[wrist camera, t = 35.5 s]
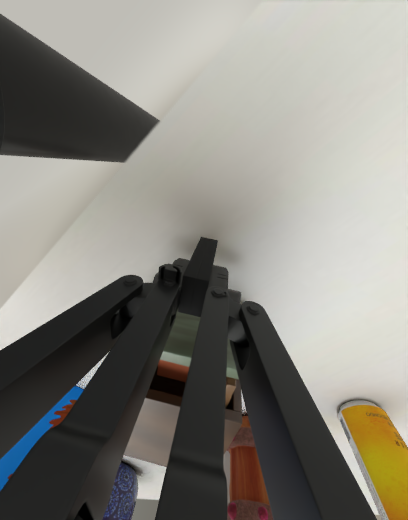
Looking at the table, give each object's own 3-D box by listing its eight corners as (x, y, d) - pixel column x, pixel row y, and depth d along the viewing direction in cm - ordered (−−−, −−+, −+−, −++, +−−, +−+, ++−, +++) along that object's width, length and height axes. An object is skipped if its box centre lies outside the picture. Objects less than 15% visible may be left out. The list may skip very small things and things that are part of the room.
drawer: (152, 245, 19) (107, 288, 12) (260, 270, 19) (276, 329, 12) (146, 356, 28) (118, 419, 21) (221, 375, 27) (216, 446, 20)
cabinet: (147, 311, 25) (102, 386, 16) (239, 334, 24) (242, 423, 16) (144, 375, 31) (111, 451, 23) (216, 393, 31) (209, 479, 22)
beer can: (383, 419, 28) (522, 651, 14) (338, 421, 30) (425, 628, 16) (381, 396, 26) (542, 642, 12) (332, 399, 27) (427, 618, 14)
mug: (234, 435, 36) (235, 590, 23) (217, 413, 34) (206, 574, 20) (313, 431, 32) (372, 621, 18) (301, 404, 29) (360, 605, 16)
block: (173, 316, 22) (159, 348, 18) (209, 325, 22) (203, 360, 18) (169, 341, 24) (156, 375, 20) (202, 349, 24) (196, 385, 20)
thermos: (65, 410, 42) (-123, 678, 20) (41, 381, 38) (-235, 687, 15) (107, 414, 40) (-49, 718, 18) (88, 385, 36) (-153, 743, 13)
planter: (79, 454, 54) (30, 546, 41) (119, 451, 49) (77, 556, 35) (116, 478, 59) (82, 566, 46) (155, 478, 54) (130, 578, 41)
